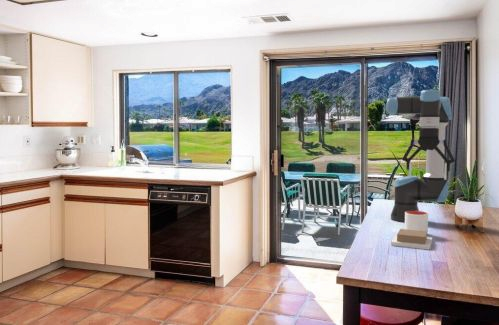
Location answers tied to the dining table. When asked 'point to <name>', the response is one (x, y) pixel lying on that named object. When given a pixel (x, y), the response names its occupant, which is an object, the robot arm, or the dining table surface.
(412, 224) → the cup
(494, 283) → the dining table surface
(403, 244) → the plinth
